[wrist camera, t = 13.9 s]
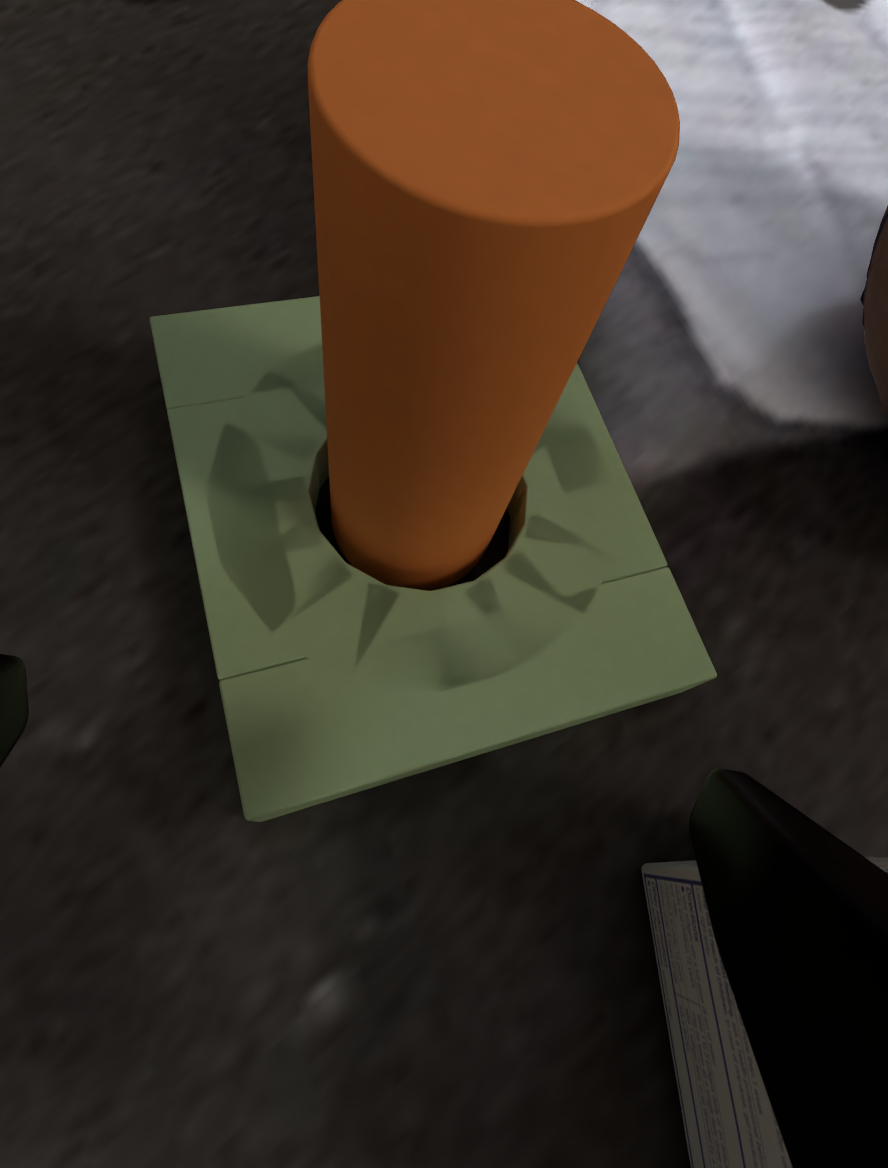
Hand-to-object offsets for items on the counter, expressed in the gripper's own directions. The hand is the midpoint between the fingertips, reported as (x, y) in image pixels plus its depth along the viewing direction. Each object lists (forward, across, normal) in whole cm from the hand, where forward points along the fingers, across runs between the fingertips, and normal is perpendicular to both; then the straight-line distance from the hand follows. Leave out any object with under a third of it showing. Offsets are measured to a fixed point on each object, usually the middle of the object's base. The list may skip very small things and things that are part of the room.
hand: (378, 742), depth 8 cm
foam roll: (+12, 0, 0) cm, 12 cm away
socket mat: (+11, 0, 0) cm, 11 cm away
